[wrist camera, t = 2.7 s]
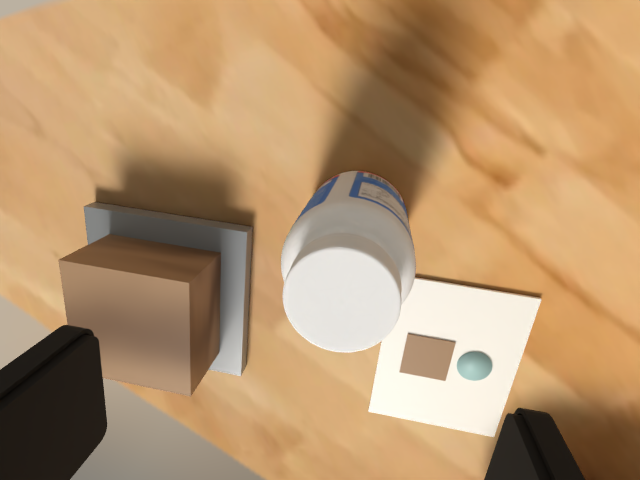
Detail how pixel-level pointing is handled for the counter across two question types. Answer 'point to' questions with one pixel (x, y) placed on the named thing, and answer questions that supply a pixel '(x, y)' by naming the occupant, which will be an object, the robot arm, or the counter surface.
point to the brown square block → (147, 309)
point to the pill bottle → (348, 263)
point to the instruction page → (453, 355)
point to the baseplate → (199, 235)
